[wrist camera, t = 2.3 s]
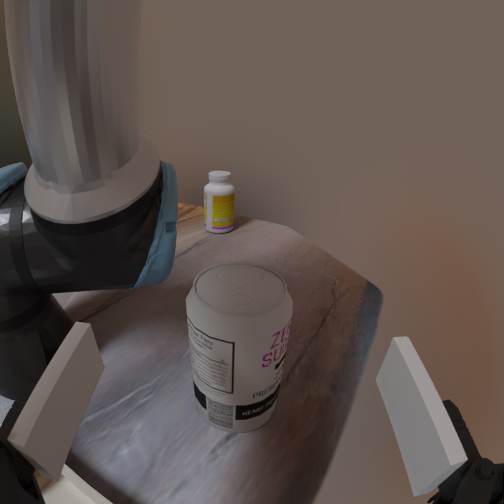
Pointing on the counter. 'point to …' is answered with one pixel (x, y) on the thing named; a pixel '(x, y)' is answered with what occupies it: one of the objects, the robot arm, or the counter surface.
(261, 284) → the supplement can
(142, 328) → the counter surface
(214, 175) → the supplement bottle
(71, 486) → the tray
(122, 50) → the robot arm
